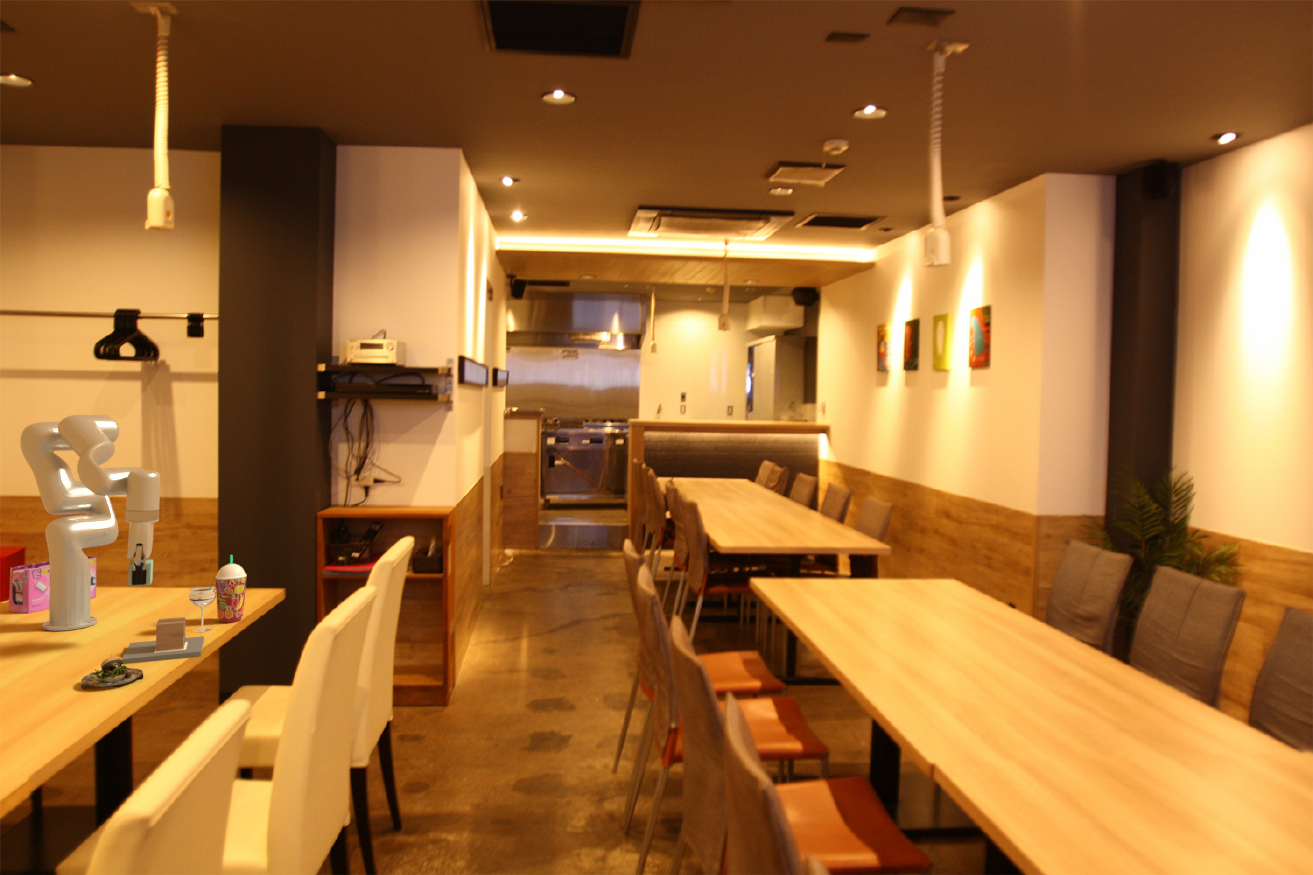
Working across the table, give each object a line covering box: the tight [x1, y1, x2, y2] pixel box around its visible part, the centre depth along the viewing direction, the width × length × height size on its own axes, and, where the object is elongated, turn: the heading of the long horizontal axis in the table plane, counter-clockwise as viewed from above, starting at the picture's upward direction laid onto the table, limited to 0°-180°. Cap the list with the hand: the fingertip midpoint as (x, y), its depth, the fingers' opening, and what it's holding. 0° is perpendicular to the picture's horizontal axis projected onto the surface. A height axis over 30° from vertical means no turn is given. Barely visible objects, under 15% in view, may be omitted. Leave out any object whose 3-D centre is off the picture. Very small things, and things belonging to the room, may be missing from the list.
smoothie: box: [215, 554, 248, 624], centre depth 234 cm, size 8×8×20 cm
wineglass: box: [188, 585, 217, 633], centre depth 224 cm, size 7×7×12 cm
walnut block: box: [155, 616, 186, 652], centre depth 203 cm, size 6×6×7 cm
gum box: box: [8, 556, 97, 614], centre depth 247 cm, size 24×8×14 cm, turn 168°
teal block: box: [127, 559, 154, 587], centre depth 212 cm, size 5×5×6 cm
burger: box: [80, 655, 144, 691], centre depth 181 cm, size 12×12×8 cm
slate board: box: [121, 636, 205, 665], centre depth 204 cm, size 15×17×1 cm
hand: (140, 581), depth 212 cm, fingers closed on teal block, 5 cm apart
